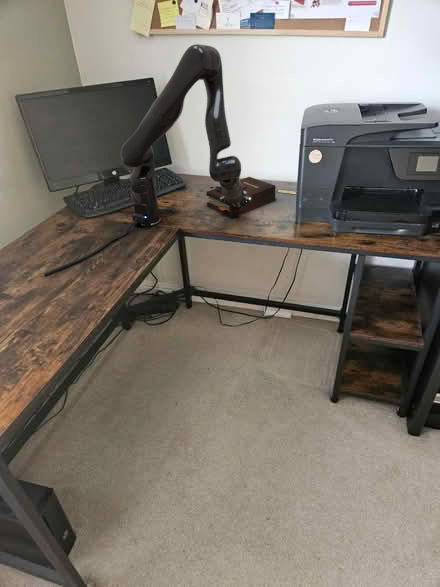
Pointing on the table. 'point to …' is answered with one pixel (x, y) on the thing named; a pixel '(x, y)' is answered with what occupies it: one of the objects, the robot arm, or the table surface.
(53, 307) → the table surface
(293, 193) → the tape mark
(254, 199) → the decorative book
